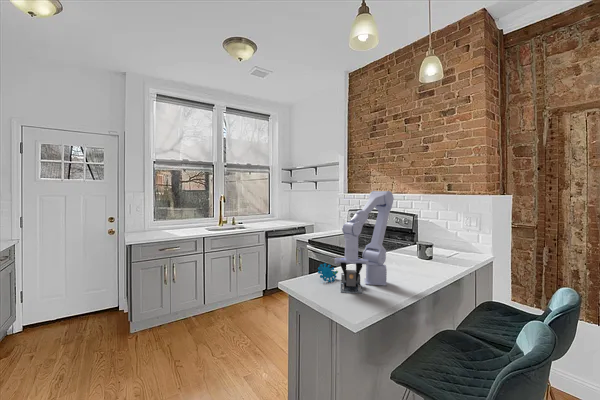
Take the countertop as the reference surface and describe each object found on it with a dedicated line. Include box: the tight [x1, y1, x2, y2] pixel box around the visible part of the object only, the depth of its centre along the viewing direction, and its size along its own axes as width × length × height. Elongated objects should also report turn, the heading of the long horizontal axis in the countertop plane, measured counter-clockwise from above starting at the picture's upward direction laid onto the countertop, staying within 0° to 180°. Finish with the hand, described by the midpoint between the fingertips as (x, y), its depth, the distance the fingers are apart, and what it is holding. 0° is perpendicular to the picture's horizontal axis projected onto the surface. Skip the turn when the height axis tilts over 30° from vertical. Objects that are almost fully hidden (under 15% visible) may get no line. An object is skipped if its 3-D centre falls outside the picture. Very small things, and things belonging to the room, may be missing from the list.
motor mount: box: [340, 272, 363, 295], centre depth 128 cm, size 9×12×7 cm
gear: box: [317, 263, 339, 283], centre depth 141 cm, size 11×6×10 cm
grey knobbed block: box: [346, 269, 356, 287], centre depth 125 cm, size 4×5×6 cm
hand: (351, 280), depth 126 cm, fingers closed on grey knobbed block, 4 cm apart
